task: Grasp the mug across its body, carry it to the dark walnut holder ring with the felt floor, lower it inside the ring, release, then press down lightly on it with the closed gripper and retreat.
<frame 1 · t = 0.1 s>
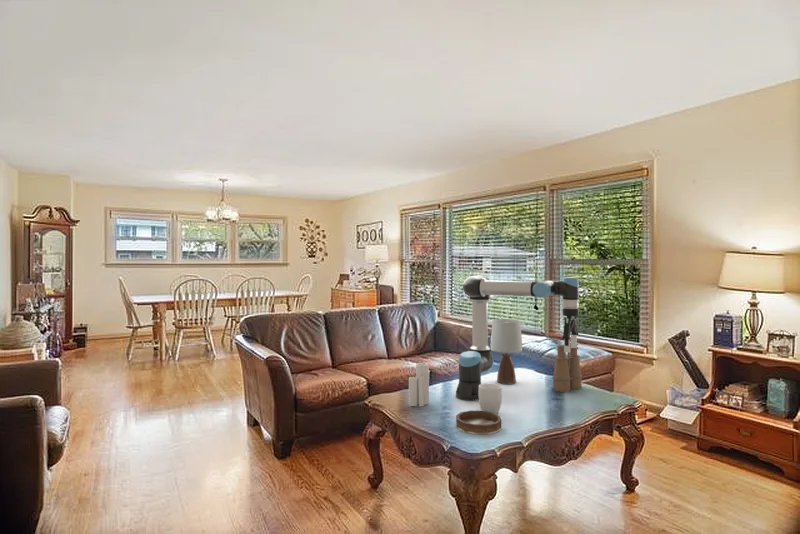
hand: (570, 350, 237), 28 cm above the table, fingers open, 13 cm apart
lamp: (506, 382, 283), on the table
mug: (489, 412, 227), on the table
holder: (478, 426, 209), on the table
binoculars: (567, 388, 269), on the table
vase: (419, 404, 240), on the table
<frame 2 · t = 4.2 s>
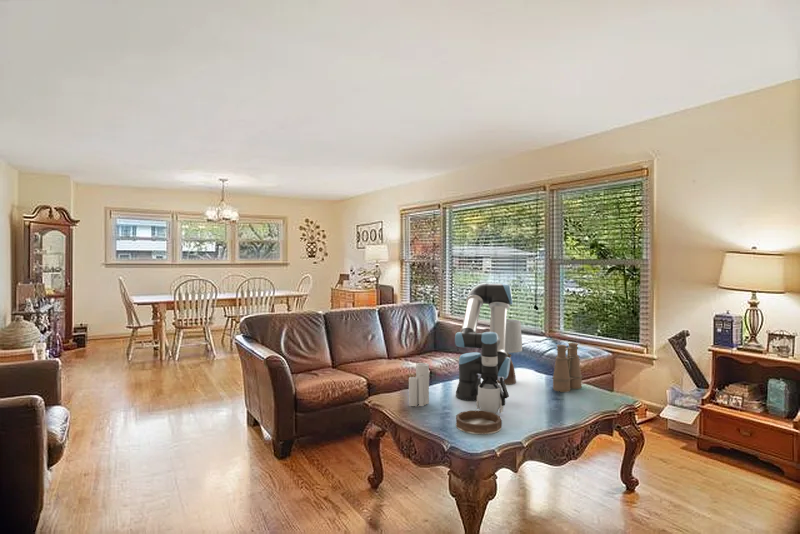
hand: (489, 410, 227), 1 cm above the table, fingers closed on mug, 11 cm apart
mug: (489, 412, 227), on the table, touching gripper
everything else where it was.
when the fingers open (3 cm above the table, at t = 10.5 s): mug drops 1 cm, resting on holder.
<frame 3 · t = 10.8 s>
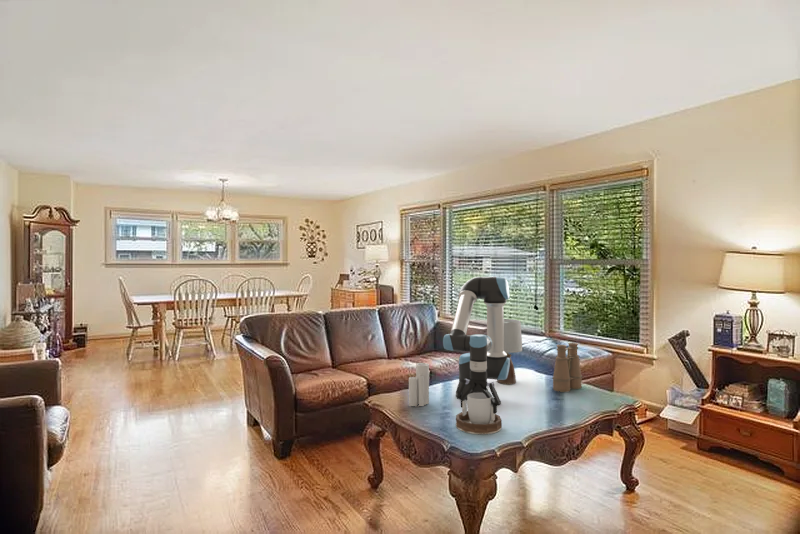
hand: (478, 417, 208), 4 cm above the table, fingers open, 13 cm apart
mug: (479, 425, 208), resting on holder, touching gripper
everything else where it was.
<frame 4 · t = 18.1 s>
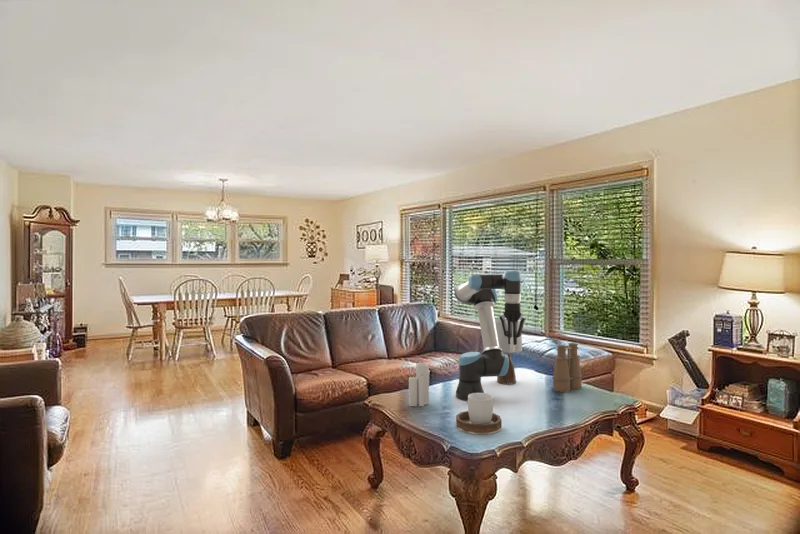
hand: (512, 351, 227), 29 cm above the table, fingers closed
mug: (479, 425, 208), resting on holder
everything else where it was.
at the end: mug 0.6 cm from the holder (horizontally); mug resting on holder; mug tilted 0° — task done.
